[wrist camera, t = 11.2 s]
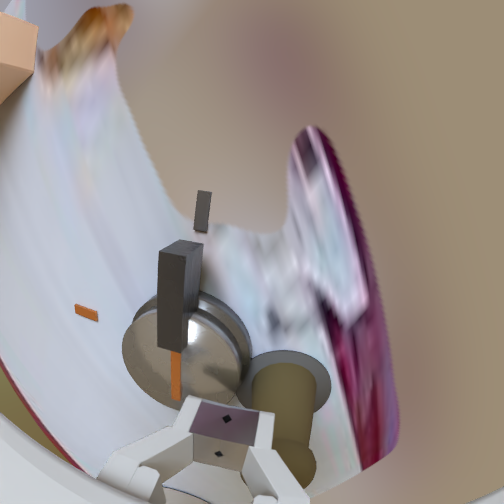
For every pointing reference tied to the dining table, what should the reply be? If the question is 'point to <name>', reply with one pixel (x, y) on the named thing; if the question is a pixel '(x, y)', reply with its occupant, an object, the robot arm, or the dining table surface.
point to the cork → (288, 414)
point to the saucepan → (182, 338)
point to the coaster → (286, 357)
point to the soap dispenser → (15, 53)
